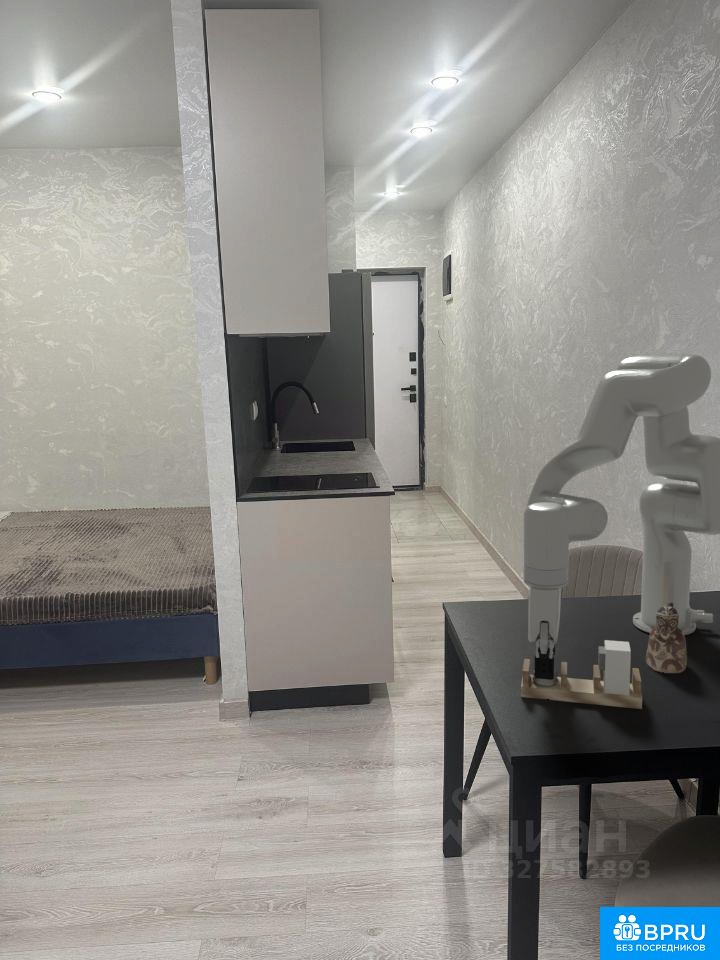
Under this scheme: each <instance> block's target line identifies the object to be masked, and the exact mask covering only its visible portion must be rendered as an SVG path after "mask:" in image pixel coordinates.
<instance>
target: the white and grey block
mask: <svg viewBox="0 0 720 960" xmlns="http://www.w3.org/2000/svg"><path fill="white" fill-rule="evenodd" d="M603 643H604V646H600V645H598V650H597V651H598V654H597V656H598V657H597V659H598V661H597V662H598V664H597V665H598V666H599V670H600V671H603V681H604V682H603V683H604V692H605V693H608V694H619V695H629V692H630V684H631V683H630V682H631V660H632V659H631V658H632V657H631V656H632V655H631V654H632V653H631V646H630V642H629V641H622V640H620V641H619V640H607V639H605V640H604V642H603Z"/></svg>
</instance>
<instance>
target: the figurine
mask: <svg viewBox="0 0 720 960" xmlns="http://www.w3.org/2000/svg"><path fill="white" fill-rule="evenodd" d="M678 618H679V615H678V612H677V611H676V609H675V608H673V603H672V602H668V604H667V606H662V607H661V608H660V609H659V610H658V611H657V613H656V626H655V627H654V628H653V629H652V630H651V632H650V633H649V635H648V641H647V642H648V643H647V650H646V654H645V662H646V664H647V666H649V667H650V668H651V669H652V670H653V671H656V672H660V673H663V672H664V674H680V673H683V672H684V671H685V670H686V668H687V665H688V664H687V662H688V661H687V660H688V656H687V655H688V654H687V641H686V637H685V635H684V634H683V632H682V631H681V630H680V629H679V628H678Z"/></svg>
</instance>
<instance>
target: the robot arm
mask: <svg viewBox="0 0 720 960" xmlns="http://www.w3.org/2000/svg"><path fill="white" fill-rule="evenodd" d="M711 380H712V370H711V367H710V364H709V362H708V361H707V360H706V358H705V357H703V356H700V355H699V354H644V355H643V354H641V355H635V356H629V357H627V358H624V359H623V360H621V361H620V362H619V363H618V366H617V369H616V370H613V371H609V372H608V373H606V374H605V375H603V377H602V378H601V379H600V380H599V383H598V384H597V387H596V390H595V392H594V394H593V397H592V399H591V402H590V404H589V407H588V410H587V412H586V414H585V418H584V420H583V423H582V424H581V428H580V429H579V432H578V435H577V436H576V438H575V440H574V441H572V442H571V443H570V444H568V445H566V446H565V447H564V448H563V449H561V450H560V451H559V452H557V454H555V455H554V456H553V457H552V458H551V459H550V460H549V461H548V462H547V463H546V464H545V465H544V466H543V468H541V470H540V472H538V473H539V474H537V477H536V480H534V481H535V482H534V484H533V487H532V489H531V492H530V493H529V497H528V500H527V504H526V508H525V510H524V512H523V583H524V584H525V585H526V586H529V590H528V621H527V622H528V628H527V629H528V630H527V631H528V634H527V640H528V641H529V642H530V643H533V642H535V647H536V648H535V655H534V670H535V672H534V671H533V672H534V676H535V678H537V679H547V680H553V679H554V668H555V657H554V656H555V655H556V643H557V642H558V635H559V627H560V619H561V618H560V617H561V600H562V599H561V597H562V594H561V593H562V588H565V587H567V586H568V585H569V567H570V566H569V560H570V559H569V556H570V555H569V553H570V551H569V549H570V543H574V542H575V543H577V542H588V541H592V540H593V539H596V538H598V537H599V536H601V534H603V532H604V531H605V529H606V528H607V524H608V520H609V519H608V516H609V515H608V512H607V509H606V508H605V506H604V505H603V504H602V503H601V502H599V501H597V500H595V499H593V498H588V497H582V496H575V495H569V494H564V493H561V491H562V490H563V488H564V487H565V486H566V485H567V483H568V482H570V481H571V480H572V479H573V478H575V477H576V476H578V475H579V474H581V473H583V472H586V471H589V470H592V469H594V468H598V467H601V466H603V465H606V464H609V463H612V462H615V461H616V460H619V459H620V458H621V456H623V454H624V452H625V449H626V446H627V444H628V441H629V438H630V436H631V433H632V430H633V427H634V425H635V422H636V421H637V418H638V417H642V418H643V419H642V420H643V430H644V431H643V432H644V435H643V437H644V451H645V452H644V456H645V466H646V469H647V471H648V473H649V474H650V475H652V476H653V477H655V478H656V477H657V478H659V479H665V480H672V481H681V482H689V483H696V484H697V485H690V484H682V483H676V482H674V483H673V482H665V481H664V482H663V481H662V482H654V483H652V484H649V485H648V486H646V487H645V488H644V489H643V490H642V492H641V494H640V497H639V512H640V519H641V525H642V539H643V540H642V567H641V569H642V573H641V594H640V595H641V597H640V598H641V599H640V600H641V601H640V611H639V612H637V613H634V615H633V616H632V623H633V625H634V626H635V627H636V628H638V629H639V630H641V631H643V632H645V633H649V634H650V632H651V630H652V629H653V628H654V627H655V626H656V613H657V611H658V610H659V609H660V608H661V607H662V606H667V604H668V602H672V603H673V608H675V609H676V611H677V612H678V615H679V618H678V628H679V629H680V630H681V631H682V632H683V634H684V636H688V635H690V634H693V633H694V632H695V631H696V628H697V624H696V623H698V622H700V623H701V622H702V623H709V624H710V623H713V622H714V615H713V613H707V612H705V610H703V609H697V610H696V609H693V608H691V606H690V592H691V590H690V589H691V571H692V569H691V568H692V567H691V566H692V565H691V564H692V546H691V543H690V541H689V540H690V539H688V537H687V535H686V533H685V532H687V533H688V532H689V533H694V534H701V535H708V536H715V535H717V536H718V535H720V438H719V437H717V436H713V435H704V434H703V435H702V434H693V433H692V432H691V429H690V416H689V409H688V406H690V405H692V404H693V403H695V402H696V401H698V400H700V399H701V397H703V395H704V394H705V393H706V392H707V390H708V388H709V386H710V384H711ZM539 638H540V639H539ZM548 638H550V639H551V640H549V639H548ZM539 644H540V646H539ZM553 644H554V645H555V646H554V648H553ZM548 645H550V649H549V647H548Z"/></svg>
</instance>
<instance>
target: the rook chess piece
mask: <svg viewBox="0 0 720 960" xmlns="http://www.w3.org/2000/svg"><path fill="white" fill-rule="evenodd" d="M539 639H540V638H539ZM548 639H549V640H551V639H550V638H548ZM539 646H540V644H539ZM554 646H555V647H556V644H555V645H554V644H553V648H554ZM548 647H549V649H550V645H548ZM534 672H535V669H534V670H533V671H532V675H534ZM557 677H559V676H558V672H557V670H556V668H555V667H554V679H553V680H547V679H537V678H535V676H533V680H534V682H535V683H536V684H538V685H540V686H545V687H548V686H553V685H555V684H556V683H557V682H558V678H557Z"/></svg>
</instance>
